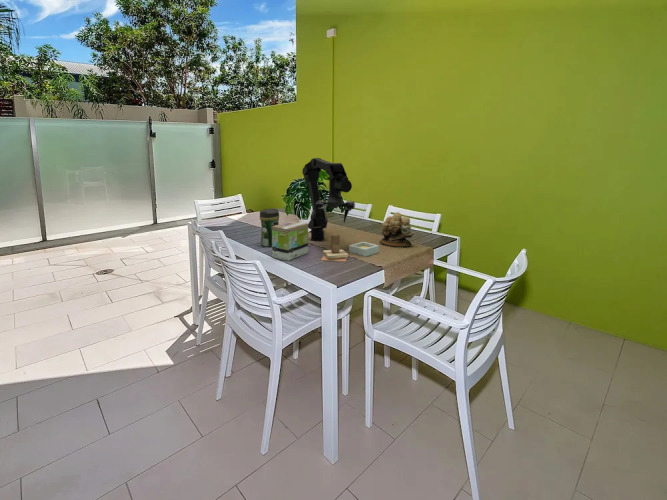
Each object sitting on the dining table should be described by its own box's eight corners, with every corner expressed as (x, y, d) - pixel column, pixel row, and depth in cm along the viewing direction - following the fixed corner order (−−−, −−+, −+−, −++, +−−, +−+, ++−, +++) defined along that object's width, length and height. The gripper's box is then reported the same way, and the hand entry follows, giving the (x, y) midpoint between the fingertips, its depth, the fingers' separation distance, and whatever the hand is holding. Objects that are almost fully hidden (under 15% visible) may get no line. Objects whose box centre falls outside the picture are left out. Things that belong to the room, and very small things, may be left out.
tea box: (289, 261, 167) (288, 228, 162) (272, 257, 172) (270, 226, 167) (309, 253, 179) (308, 222, 175) (292, 249, 184) (291, 220, 180)
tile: (321, 260, 167) (321, 259, 167) (325, 253, 178) (325, 252, 178) (345, 262, 166) (345, 261, 165) (348, 254, 176) (348, 253, 176)
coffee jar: (272, 241, 198) (271, 206, 193) (283, 244, 193) (281, 208, 188) (258, 245, 191) (256, 209, 185) (268, 248, 186) (267, 211, 181)
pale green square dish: (349, 252, 180) (349, 245, 179) (363, 248, 186) (363, 241, 185) (364, 256, 173) (364, 249, 172) (378, 252, 179) (378, 245, 178)
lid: (323, 254, 174) (323, 233, 172) (341, 253, 177) (341, 231, 174) (328, 260, 166) (328, 237, 163) (347, 258, 169) (348, 236, 166)
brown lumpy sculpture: (416, 244, 194) (419, 211, 189) (409, 250, 184) (411, 216, 179) (384, 239, 203) (385, 208, 198) (375, 244, 193) (376, 212, 188)
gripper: (312, 191, 173) (312, 225, 178) (352, 192, 170) (351, 226, 174) (317, 188, 184) (317, 220, 188) (355, 189, 180) (354, 221, 185)
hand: (335, 222), depth 184 cm, fingers open, 9 cm apart
